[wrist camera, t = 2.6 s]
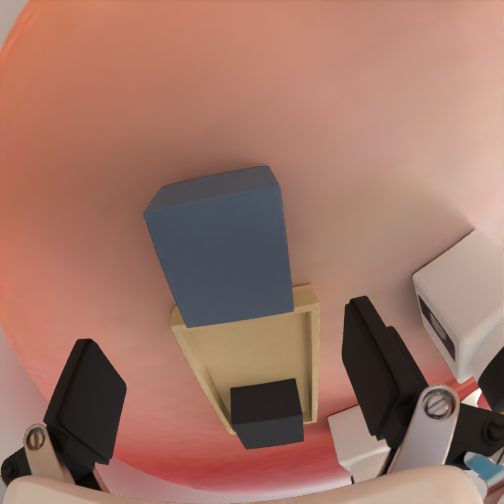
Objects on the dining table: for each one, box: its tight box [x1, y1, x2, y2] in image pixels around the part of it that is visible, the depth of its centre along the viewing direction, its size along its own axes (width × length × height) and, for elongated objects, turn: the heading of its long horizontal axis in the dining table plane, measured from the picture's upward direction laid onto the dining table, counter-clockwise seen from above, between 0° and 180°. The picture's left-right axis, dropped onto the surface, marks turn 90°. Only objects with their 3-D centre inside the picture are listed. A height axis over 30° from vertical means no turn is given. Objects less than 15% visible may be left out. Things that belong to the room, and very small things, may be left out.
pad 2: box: [230, 378, 304, 449], centre depth 24 cm, size 7×6×4 cm
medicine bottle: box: [328, 405, 390, 484], centre depth 26 cm, size 7×7×12 cm
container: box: [412, 229, 504, 413], centre depth 15 cm, size 8×8×13 cm
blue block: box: [143, 166, 294, 328], centre depth 15 cm, size 7×6×4 cm
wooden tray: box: [170, 284, 319, 435], centre depth 23 cm, size 18×10×2 cm, turn 9°
